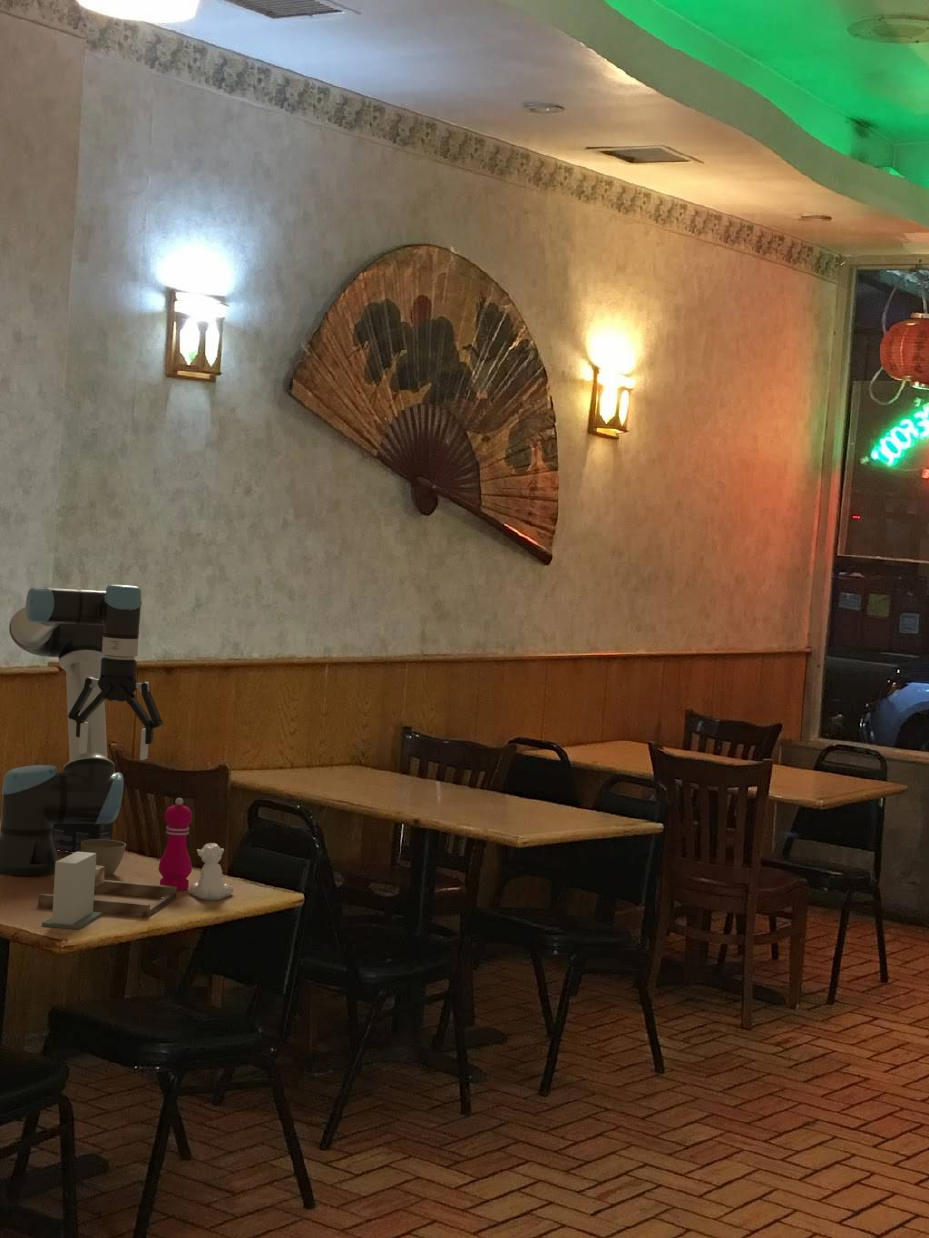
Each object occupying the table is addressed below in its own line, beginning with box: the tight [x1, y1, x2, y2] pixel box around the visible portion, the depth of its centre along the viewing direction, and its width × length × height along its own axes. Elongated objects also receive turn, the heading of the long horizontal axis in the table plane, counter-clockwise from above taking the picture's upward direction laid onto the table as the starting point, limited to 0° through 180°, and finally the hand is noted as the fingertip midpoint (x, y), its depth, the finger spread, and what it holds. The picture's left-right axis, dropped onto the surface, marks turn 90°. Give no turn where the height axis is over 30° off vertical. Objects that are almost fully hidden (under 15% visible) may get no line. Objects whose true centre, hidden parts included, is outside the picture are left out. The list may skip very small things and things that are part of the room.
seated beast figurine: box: [189, 842, 234, 901], centre depth 358 cm, size 10×9×12 cm
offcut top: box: [95, 865, 105, 886], centre depth 347 cm, size 4×8×4 cm, turn 81°
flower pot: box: [81, 839, 127, 877], centre depth 374 cm, size 10×10×7 cm
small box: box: [53, 821, 114, 852], centre depth 399 cm, size 13×7×12 cm, turn 72°
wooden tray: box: [37, 879, 178, 918], centre depth 346 cm, size 23×20×2 cm
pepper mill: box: [158, 797, 193, 891], centre depth 365 cm, size 7×7×20 cm
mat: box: [41, 911, 104, 930], centre depth 328 cm, size 8×14×1 cm, turn 173°
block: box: [51, 851, 96, 925], centre depth 328 cm, size 4×12×12 cm, turn 173°
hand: (113, 756), depth 354 cm, fingers open, 13 cm apart
